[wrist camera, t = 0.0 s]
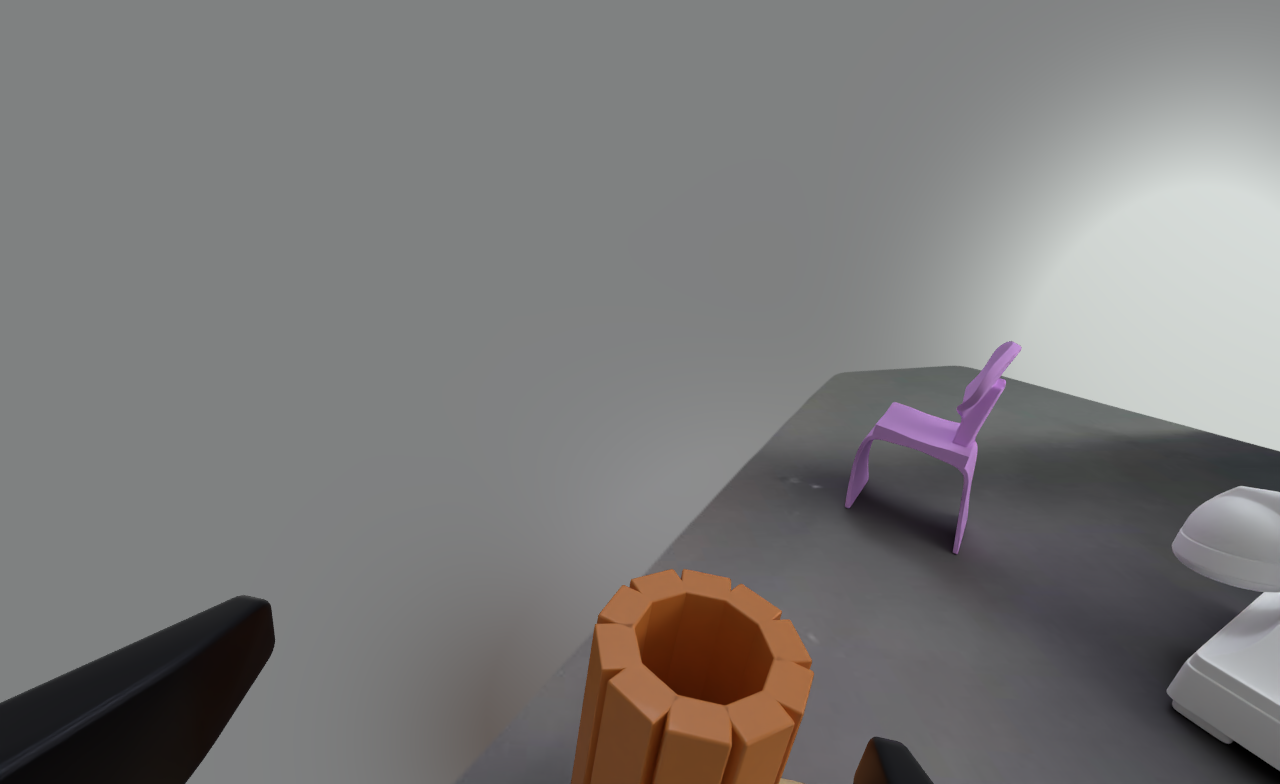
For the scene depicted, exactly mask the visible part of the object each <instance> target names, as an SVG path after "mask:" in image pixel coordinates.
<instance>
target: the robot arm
mask: <svg viewBox="0 0 1280 784" xmlns="http://www.w3.org/2000/svg"><path fill="white" fill-rule="evenodd" d="M274 644H275V635H274V627H273V619H272V610H271V605H270V604H269V603H268V601H266V600H264V599H259V598H255V597H251V596H245V595H244V596H237V597H235V598H232V599H230V600H228V601H225V602H223V603H221V604H219V605H217V606H214V607H212V608H210V609H208V610H206V611H203V612H201V613H199V614H197V615H195V616H192V617H190V618H188V619H186V620H183V621H181V622H179V623H177V624H174V625H172V626H170V627H168V628H166V629H163V630H161V631H159V632H157V633H154V634H152V635H150V636H148V637H146V638H144V639H141V640H139V641H137V642H134V643H133V644H130V645H128V646H126V647H124V648H121V649H119V650H117V651H115V652H112V653H110V654H108V655H106V656H104V657H101V658H99V659H97V660H95V661H92V662H90V663H88V664H86V665H84V666H81V667H79V668H77V669H75V670H73V671H70V672H68V673H66V674H64V675H61V676H59V677H57V678H55V679H53V680H50V681H48V682H46V683H44V684H42V685H39V686H37V687H35V688H32V689H30V690H28V691H26V692H24V693H21V694H19V695H17V696H15V697H13V698H10V699H8V700H6V701H4V702H1V703H0V784H185V783H186V782H187V780H188V779H189V778H190V777H191V775H192V774H193V773H194V771H195V770H196V769H197V767H198V766H199V764H200V763H201V762H202V760H203V759H204V758H205V756H206V755H207V753H208V752H209V750H210V749H211V747H212V746H213V745H214V743H215V741H216V740H217V738H218V737H219V735H220V734H221V732H222V731H223V729H224V728H225V726H226V725H227V723H228V721H229V720H230V718H231V717H232V715H233V714H234V712H235V710H236V709H237V707H238V706H239V704H240V703H241V701H242V700H243V698H244V696H245V695H246V693H247V692H248V690H249V689H250V687H251V685H252V684H253V683H254V681H255V680H256V678H257V676H258V675H259V673H260V672H261V670H262V669H263V667H264V666H265V664H266V662H267V661H268V659H269V658H270V656H271V654H272V651H273V648H274ZM853 784H933V782H932V781H931V780H930V778H929V777H928V775H927V774H926V773H925V771H924V770H923V769H922V767H921V766H920V765H919V763H918V762H917V761H916V759H915V758H914V757H913V755H912V754H911V753H910V751H909V750H908V749H907V747H905V746H904V745H903V744H902V743H900V742H898V741H894V740H889V739H885V738H880V737H873V738H872V739H870V741H869V742H868V744H867V747H866V749H865V752H864V754H863V756H862V759H861V761H860V763H859V766H858V768H857V770H856V773H855V776H854V782H853Z"/></svg>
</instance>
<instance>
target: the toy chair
mask: <svg viewBox="0 0 1280 784" xmlns="http://www.w3.org/2000/svg"><path fill="white" fill-rule="evenodd" d="M1020 351H1021V346H1020V345H1018V344H1016V343H1014V342H1012V341H1009V342H1006V343H1004V344H1002V345H1001V346H1000V347H998V348H997V349H996V351H995V352H994V353H993V355H992V356H991V358H990V359H989V361H988V362H987V364H986V365H985V367H984V368H983V370H982V371H981V372H980V373H979V374H978V376H977V377H976V378H975V379H974V380H973V381H972V382H971V383H970V384H969V385H968V386H967V387H966V390H965V395H964V399H963V403H962V404H961V405H959V406H958V407H957V412H958V413H959V414H960V415H961V417H962V421H961V423H956V422H952V421H948V420H944V419H941V418H938V417H935V416H932V415H929V414H926V413H923V412H921V411H918V410H916V409H914V408H911V407H908V406H905V405H902V404H899V403H896V402H893V404H892V405H891V406H890V408H889V409H888V410H887V412H886V413H885V414H884V415H883V417H882V418H881V419H880V420H879V421H878V422H877V423H876V425H875V426H874V428H873V429H872V430H871V431H870V433H869V434H868V435H867V436H866V438H865V439H864V440H863V442H862V443H861V445H860V447H859V449H858V451H857V454H856V456H855V459H854V463H853V466H852V471H851V475H850V480H849V485H848V491H847V497H846V502H845V507H846V508H850V507H851V505H852V504H853V502H854V501H855V499H856V498H857V496H858V495H859V493H860V492H861V490H862V489H863V487H864V486H865V484H866V483H867V481H868V479H869V475H868V458H869V451H870V447H871V444H872V441H873V440H874V439H879V440H884V441H888V442H891V443H895V444H899V445H902V446H906V447H910V448H913V449H916V450H919V451H921V452H924V453H926V454H928V455H931V456H933V457H935V458H937V459H939V460H942V461H944V462H946V463H949V464H951V465H953V466H955V467H956V468H957V469H959V470H960V471H961V472H962V474H963V476H964V486H963V493H962V499H961V505H960V510H959V516H958V523H957V529H956V535H955V541H954V547H953V553H955V554H958V552H959V548H960V544H961V541H962V537H963V533H964V530H965V526H966V522H967V518H968V505H969V495H970V488H971V483H972V478H973V473H974V468H975V464H976V458H977V450H978V449H977V443H976V442H975V438H976V435H977V433H978V431H979V430H980V428H981V426H982V425H983V423H984V421H985V420H986V418H987V416H988V415H989V413H990V411H991V410H992V408H993V406H994V405H995V403H996V401H997V400H998V398H999V396H1000V395H1001V393H1002V391H1003V390H1004V388H1005V384H1006V381H1005V380H1004V379H1001V378H999V377H1000V376H1001V375H1002V373H1003V372H1004V371H1005V370H1006V368H1007V367H1008V365H1009V364H1010V363H1011V362H1012V361H1013V359H1014V358H1015V357H1016V356H1017V354H1018V353H1019V352H1020Z"/></svg>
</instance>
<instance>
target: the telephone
mask: <svg viewBox="0 0 1280 784" xmlns="http://www.w3.org/2000/svg"><path fill="white" fill-rule="evenodd" d="M1172 550H1173V553H1174V554H1175V556H1176V557H1177V559H1178V560H1179V561H1180V562H1182V563H1183V564H1184V565H1185V566H1187V567H1188V568H1190V569H1192V570H1193V571H1195V572H1197V573H1199V574H1201V575H1204V576H1206V577H1208V578H1211V579H1213V580H1216V581H1219V582H1222V583H1225V584H1228V585H1232V586H1235V587H1239V588H1244V589H1249V590H1254V591H1261V592H1264V593H1263V594H1262V595H1261V596H1259V597H1258V598H1257V599H1256V600H1255V601H1254V602H1252V603H1251V604H1250V605H1249V606H1248V607H1247V608H1245V609H1244V610H1243V611H1242V612H1241V613H1240V614H1239V615H1237V616H1236V617H1235V618H1234V619H1233V620H1232V621H1230V622H1229V623H1228V624H1227V625H1226V626H1225V627H1223V628H1222V629H1221V630H1220V631H1219V632H1218V633H1217V634H1215V635H1214V636H1213V637H1212V638H1211V639H1210V640H1208V641H1207V642H1206V643H1205V644H1204V645H1203V646H1202V647H1201V648H1199V649H1198V650H1197V651H1196V652H1195V653H1194V654H1193V655H1192V656H1191V657H1190V658H1189V659H1188V660H1187V661H1186V662H1185V663H1184V665H1183V666H1182V668H1181V669H1180V670H1179V672H1178V673H1177V675H1176V676H1175V678H1174V679H1173V681H1172V682H1171V684H1170V685H1169V687H1168V688H1167V694H1168V695H1169V696H1170V697H1171V698H1172V699H1173V702H1172V706H1173V708H1174V709H1175V710H1176V711H1178V712H1179V713H1180V714H1182V715H1183V716H1185V717H1186V718H1188V719H1189V720H1191V721H1192V722H1194V723H1195V724H1196V725H1198V726H1199V727H1201V728H1202V729H1204V730H1205V731H1207V732H1208V733H1210V734H1211V735H1213V736H1214V737H1216V738H1217V739H1219V740H1220V741H1222V742H1224V743H1227V744H1230V743H1232V742H1233V741H1235V742H1237V743H1238V744H1240V745H1241V746H1243V747H1244V748H1246V749H1247V750H1249V751H1250V752H1252V753H1253V754H1255V755H1256V756H1258V757H1259V758H1261V759H1262V760H1264V761H1265V762H1267V763H1268V764H1270V765H1271V766H1273V767H1274V768H1276V769H1277V770H1279V771H1280V492H1275V491H1269V490H1263V489H1257V488H1250V487H1244V486H1239V487H1236V488H1234V489H1231V490H1229V491H1226V492H1224V493H1222V494H1219V495H1217V496H1215V497H1213V498H1212V499H1210V500H1208V501H1206V502H1205V503H1203V504H1202V505H1200V506H1199V507H1198V508H1197V509H1196V510H1195V511H1194V512H1193V513H1192V514H1191V515H1190V516H1189V517H1188V519H1187V520H1186V522H1185V523H1184V525H1183V527H1182V528H1181V529H1180V531H1179V533H1178V534H1177V536H1176V538H1175V540H1174V541H1173V543H1172Z"/></svg>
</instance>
